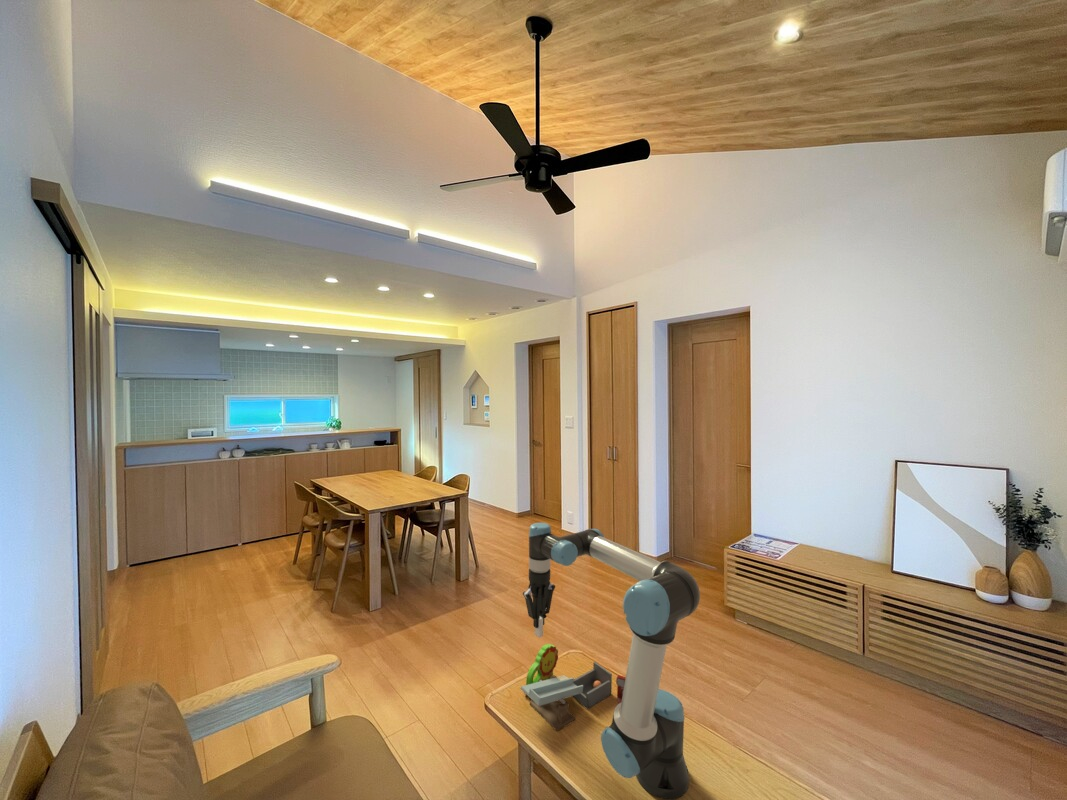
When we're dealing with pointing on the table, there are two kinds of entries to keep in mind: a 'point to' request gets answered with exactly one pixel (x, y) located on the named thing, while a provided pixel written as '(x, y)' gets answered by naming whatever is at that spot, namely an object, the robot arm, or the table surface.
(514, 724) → the table surface
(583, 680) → the pulled-out tray drawer
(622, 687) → the toy fire truck
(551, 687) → the lever
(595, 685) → the ball
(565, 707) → the stand
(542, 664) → the toy lion
